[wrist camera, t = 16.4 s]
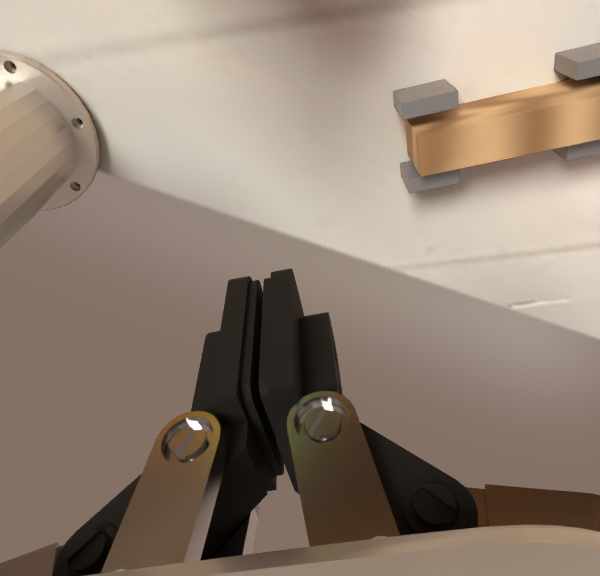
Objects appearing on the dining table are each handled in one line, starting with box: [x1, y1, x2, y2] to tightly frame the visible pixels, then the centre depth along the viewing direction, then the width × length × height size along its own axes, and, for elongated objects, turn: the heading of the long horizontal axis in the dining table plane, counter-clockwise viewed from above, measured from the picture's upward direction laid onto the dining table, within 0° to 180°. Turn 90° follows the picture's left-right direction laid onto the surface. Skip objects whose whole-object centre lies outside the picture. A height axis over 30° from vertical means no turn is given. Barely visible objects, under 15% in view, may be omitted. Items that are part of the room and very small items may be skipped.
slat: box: [405, 75, 600, 177], centre depth 36 cm, size 16×3×5 cm, turn 102°
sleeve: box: [393, 79, 460, 193], centre depth 37 cm, size 4×7×4 cm, turn 13°
